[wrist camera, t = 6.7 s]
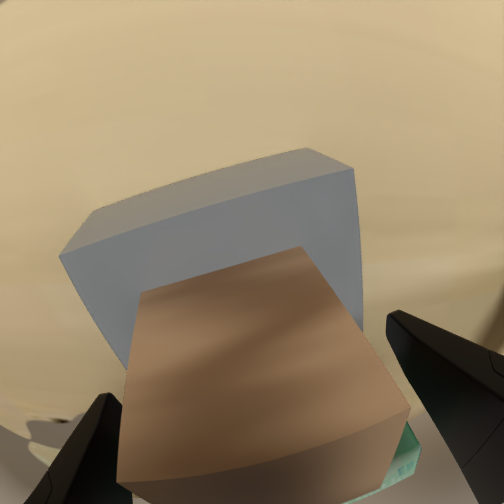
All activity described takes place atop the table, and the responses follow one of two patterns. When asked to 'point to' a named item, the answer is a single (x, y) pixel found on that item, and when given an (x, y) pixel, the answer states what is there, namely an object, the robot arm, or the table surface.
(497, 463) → the robot arm
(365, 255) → the table surface
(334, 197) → the base
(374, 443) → the block
